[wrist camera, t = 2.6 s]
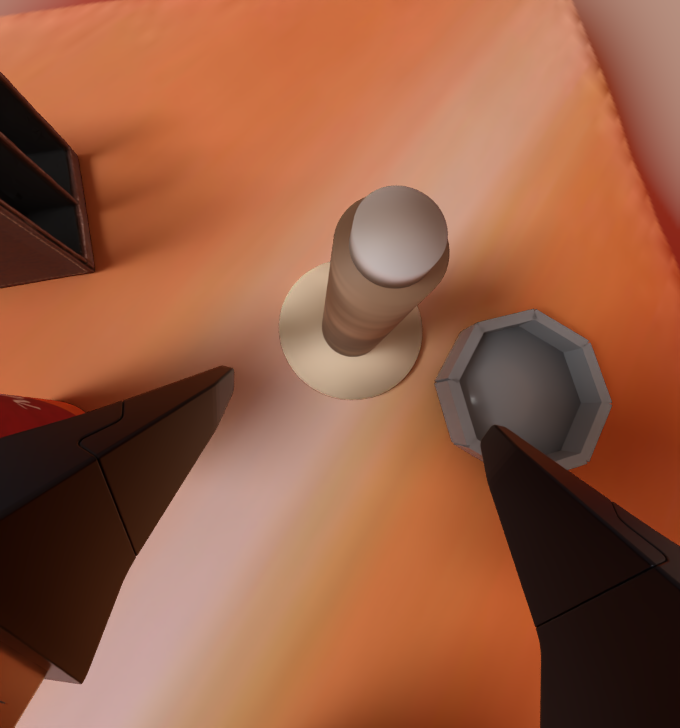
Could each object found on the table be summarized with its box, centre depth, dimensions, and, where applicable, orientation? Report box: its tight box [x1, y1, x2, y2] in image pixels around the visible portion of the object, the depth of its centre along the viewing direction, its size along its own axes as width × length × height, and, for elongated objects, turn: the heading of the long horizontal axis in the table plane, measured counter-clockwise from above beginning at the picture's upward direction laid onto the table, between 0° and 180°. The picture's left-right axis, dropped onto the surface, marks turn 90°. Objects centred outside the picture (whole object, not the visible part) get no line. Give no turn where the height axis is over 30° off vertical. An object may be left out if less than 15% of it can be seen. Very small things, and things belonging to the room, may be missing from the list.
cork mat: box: [279, 262, 422, 400], centre depth 24 cm, size 11×11×1 cm
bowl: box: [434, 309, 612, 470], centre depth 24 cm, size 12×12×2 cm
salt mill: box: [322, 186, 449, 357], centre depth 18 cm, size 5×5×13 cm
